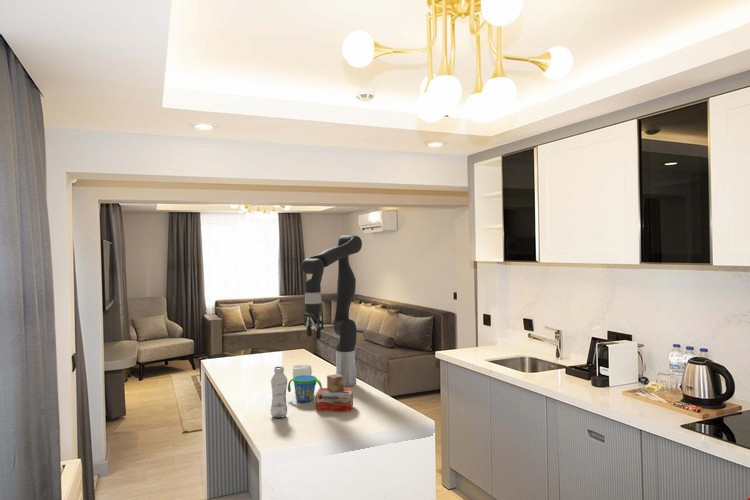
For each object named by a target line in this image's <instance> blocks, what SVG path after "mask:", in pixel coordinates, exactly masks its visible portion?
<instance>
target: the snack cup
mask: <svg viewBox="0 0 750 500" xmlns="http://www.w3.org/2000/svg"><path fill="white" fill-rule="evenodd" d="M291 382H293V386H295V387H294V392H295V398H296V399H295V400H296V401H297V402H299V403H308V402H312V401H313V400H314V395H315V389H316V385H317V384H318V386H319V389H320V388H323V385H322V382H321V381H320V380H319V378H317V376H315V375H301V376H296V377H294V378H293V377H292V378H291V379H290V380H289V381H288V383H287V391H288V393H290V392H291V390H292V389H291Z"/></svg>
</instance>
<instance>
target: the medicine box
mask: <svg viewBox="0 0 750 500" xmlns="http://www.w3.org/2000/svg"><path fill="white" fill-rule="evenodd" d="M353 407H354V388H351V387H349V388H348V387H347V388H346V387H343V390H342V391H337V392H332V391H329V390H327V387H322V388H320V387H319V389H318V390H317V391H316V394H315V411H316V412H332V413H334V412H336V413H337V412H341V413H342V412H343V413H346V412H347V413H351V412H352V409H353Z"/></svg>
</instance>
